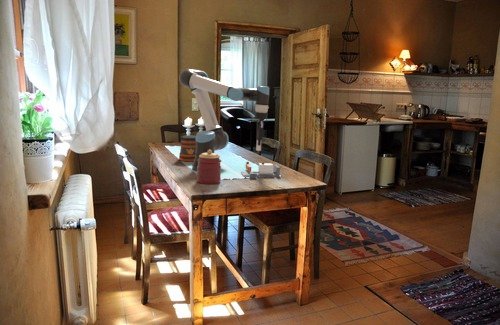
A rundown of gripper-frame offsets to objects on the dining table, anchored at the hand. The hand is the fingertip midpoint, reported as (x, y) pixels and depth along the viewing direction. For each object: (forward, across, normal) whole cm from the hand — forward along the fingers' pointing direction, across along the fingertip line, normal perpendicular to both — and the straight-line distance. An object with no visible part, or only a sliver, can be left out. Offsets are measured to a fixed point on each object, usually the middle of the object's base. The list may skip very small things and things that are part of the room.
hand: (258, 150), depth 237 cm
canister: (+14, -27, +30) cm, 43 cm away
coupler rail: (+14, -10, -1) cm, 17 cm away
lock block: (+13, -7, -4) cm, 15 cm away
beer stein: (+15, +36, +40) cm, 56 cm away
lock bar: (+13, +2, +5) cm, 14 cm away
